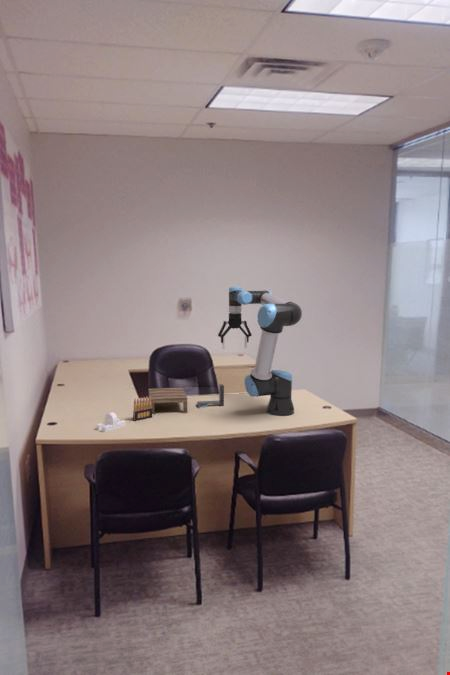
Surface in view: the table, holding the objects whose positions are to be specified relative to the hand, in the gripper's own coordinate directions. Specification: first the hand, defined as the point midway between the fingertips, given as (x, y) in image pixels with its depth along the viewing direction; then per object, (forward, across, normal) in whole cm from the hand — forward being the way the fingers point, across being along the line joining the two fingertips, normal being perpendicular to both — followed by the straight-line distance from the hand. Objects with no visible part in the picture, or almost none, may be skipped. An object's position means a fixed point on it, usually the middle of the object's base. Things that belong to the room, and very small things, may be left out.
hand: (234, 348), depth 301 cm
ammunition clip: (+32, +56, +30) cm, 71 cm away
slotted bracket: (+32, +72, +42) cm, 89 cm away
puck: (+32, +20, +11) cm, 40 cm away
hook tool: (+32, +16, +11) cm, 37 cm away
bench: (+32, +42, +11) cm, 53 cm away
